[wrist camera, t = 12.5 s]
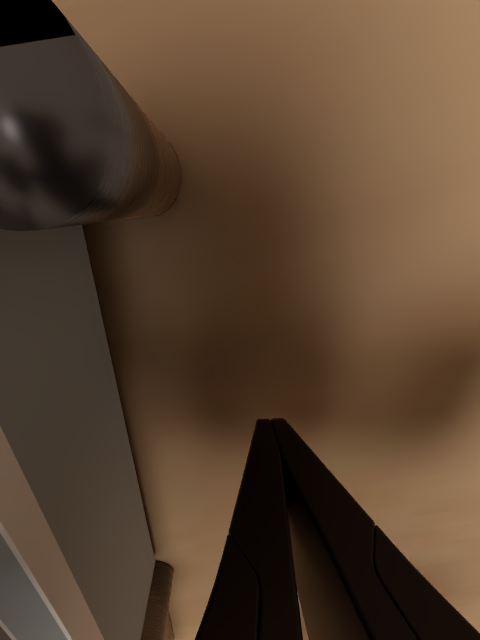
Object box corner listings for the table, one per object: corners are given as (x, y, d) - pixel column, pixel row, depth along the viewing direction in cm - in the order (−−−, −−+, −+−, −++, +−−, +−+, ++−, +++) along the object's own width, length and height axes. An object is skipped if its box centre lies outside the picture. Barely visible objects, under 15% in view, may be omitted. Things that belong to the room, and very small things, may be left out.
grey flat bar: (157, 561, 13) (126, 727, 9) (132, 563, 13) (90, 732, 9) (65, 126, 6) (-379, -100, 1) (7, 124, 5) (-637, -122, 1)
